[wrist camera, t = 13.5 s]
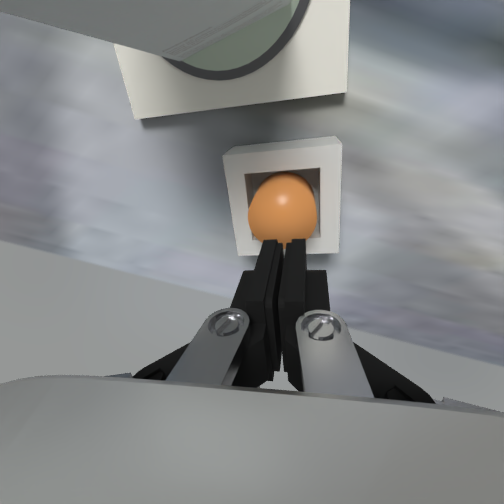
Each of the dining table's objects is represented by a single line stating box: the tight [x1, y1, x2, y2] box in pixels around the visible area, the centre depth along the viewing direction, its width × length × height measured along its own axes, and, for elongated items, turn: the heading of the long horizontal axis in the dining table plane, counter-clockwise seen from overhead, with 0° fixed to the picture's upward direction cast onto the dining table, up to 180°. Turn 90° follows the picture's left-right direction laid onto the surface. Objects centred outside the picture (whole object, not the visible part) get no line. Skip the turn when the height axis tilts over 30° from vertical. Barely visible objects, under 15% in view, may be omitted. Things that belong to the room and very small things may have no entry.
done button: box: [248, 172, 317, 249], centre depth 18 cm, size 4×4×3 cm
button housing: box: [222, 136, 342, 256], centre depth 20 cm, size 7×7×4 cm
